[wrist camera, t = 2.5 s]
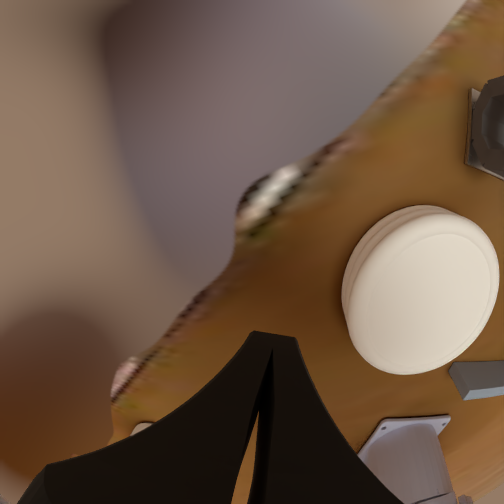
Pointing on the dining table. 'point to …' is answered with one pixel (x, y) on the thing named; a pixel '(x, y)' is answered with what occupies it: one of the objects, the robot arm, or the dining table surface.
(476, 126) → the wheel
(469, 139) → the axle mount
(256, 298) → the dining table surface
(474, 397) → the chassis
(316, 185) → the dining table surface
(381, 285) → the cream round disc
